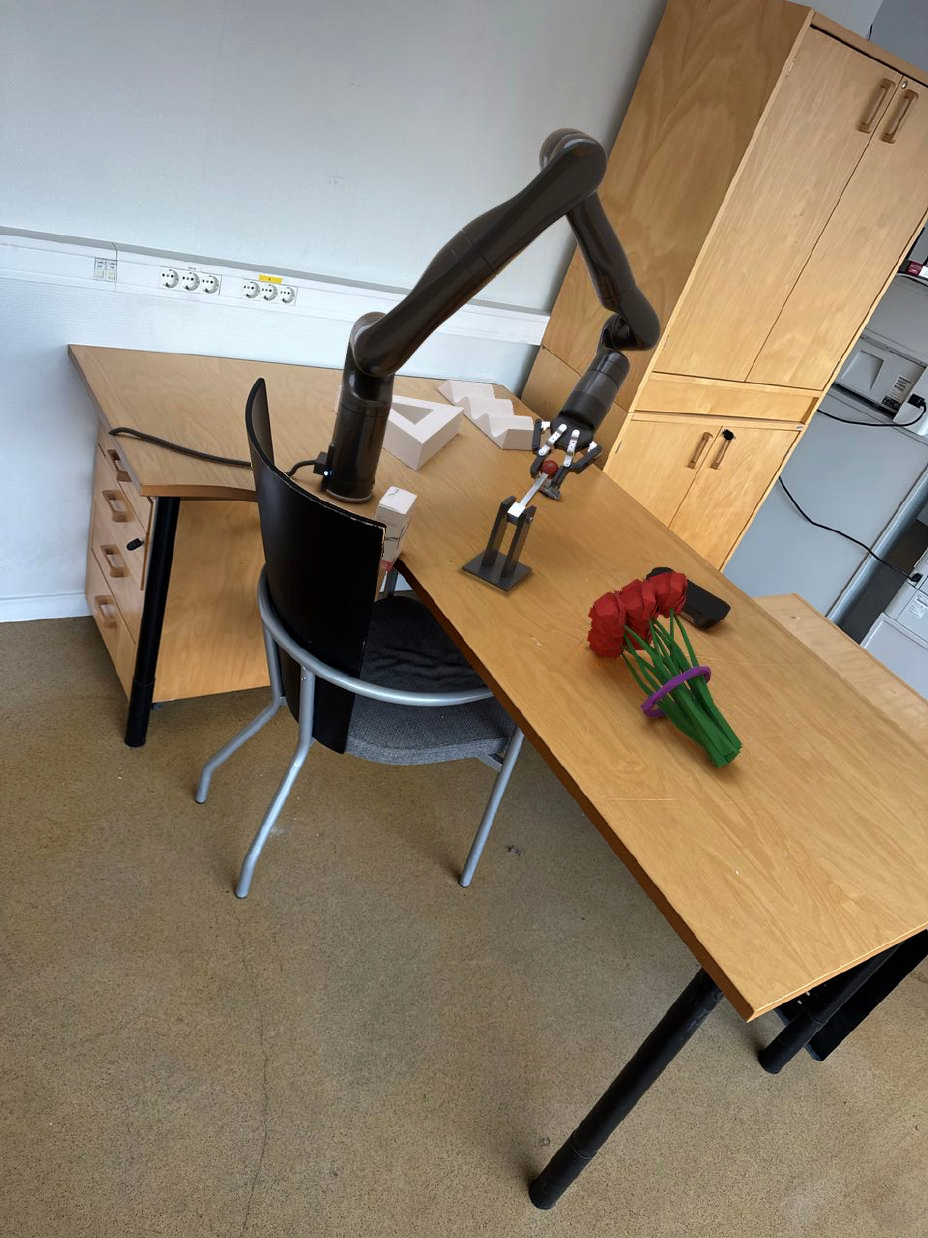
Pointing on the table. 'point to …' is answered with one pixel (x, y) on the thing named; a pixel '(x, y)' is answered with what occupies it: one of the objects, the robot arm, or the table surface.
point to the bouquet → (663, 659)
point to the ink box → (394, 522)
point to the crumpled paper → (550, 489)
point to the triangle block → (418, 428)
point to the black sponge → (698, 603)
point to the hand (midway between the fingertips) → (542, 480)
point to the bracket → (496, 564)
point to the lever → (532, 491)
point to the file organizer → (492, 414)
